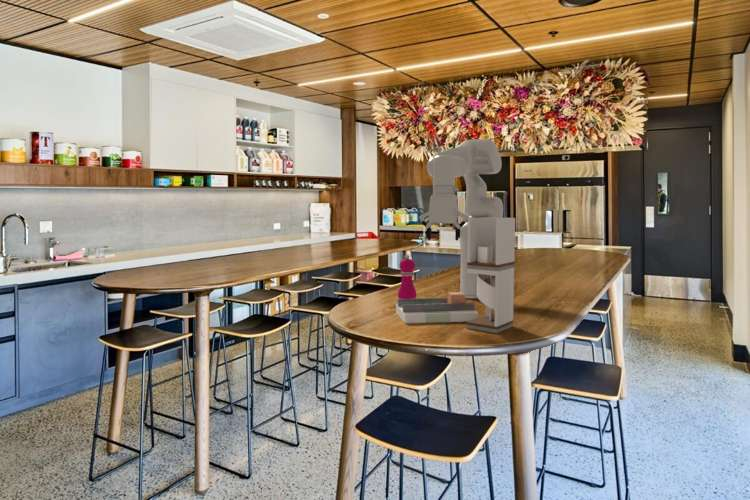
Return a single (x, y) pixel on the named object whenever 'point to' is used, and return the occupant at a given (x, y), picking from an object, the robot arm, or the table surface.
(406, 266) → the pepper mill
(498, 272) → the display case
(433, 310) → the channel walls
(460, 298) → the terracotta block
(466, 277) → the robot arm
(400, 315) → the channel deck
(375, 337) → the table surface
